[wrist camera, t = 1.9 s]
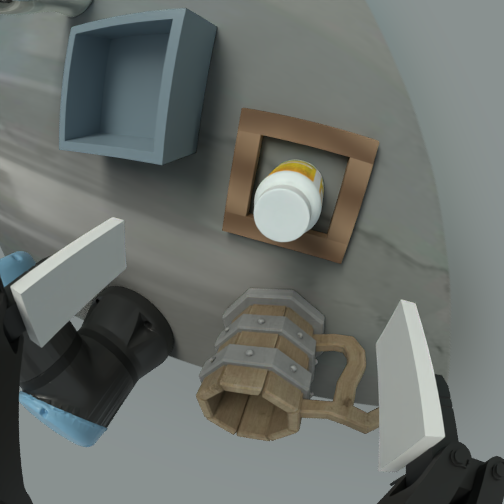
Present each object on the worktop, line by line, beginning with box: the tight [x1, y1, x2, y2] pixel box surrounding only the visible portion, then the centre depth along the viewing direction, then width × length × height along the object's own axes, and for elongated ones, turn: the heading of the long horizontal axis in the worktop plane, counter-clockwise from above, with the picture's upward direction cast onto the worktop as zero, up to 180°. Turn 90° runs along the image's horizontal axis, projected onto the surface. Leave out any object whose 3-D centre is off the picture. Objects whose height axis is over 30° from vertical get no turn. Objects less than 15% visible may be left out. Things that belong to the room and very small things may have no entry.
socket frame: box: [222, 108, 379, 264], centre depth 28 cm, size 13×13×1 cm
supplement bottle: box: [254, 160, 324, 242], centre depth 25 cm, size 5×5×10 cm
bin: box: [59, 8, 217, 165], centre depth 24 cm, size 14×14×7 cm
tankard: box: [196, 288, 379, 441], centre depth 30 cm, size 20×13×15 cm, turn 97°
